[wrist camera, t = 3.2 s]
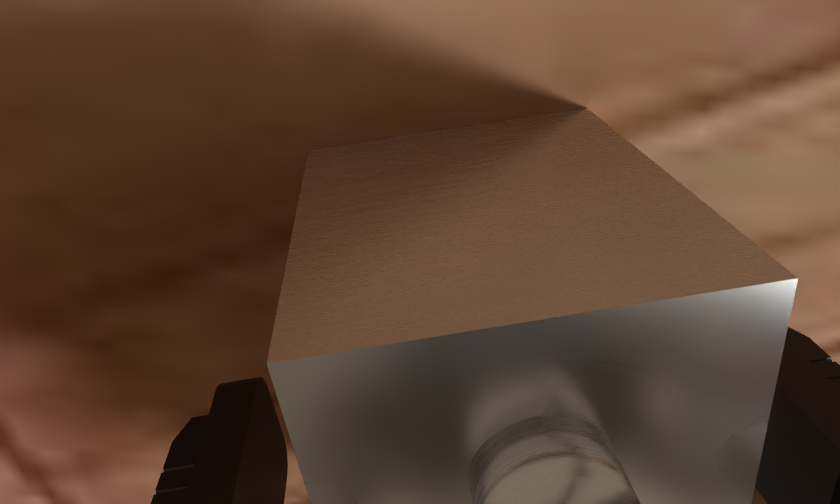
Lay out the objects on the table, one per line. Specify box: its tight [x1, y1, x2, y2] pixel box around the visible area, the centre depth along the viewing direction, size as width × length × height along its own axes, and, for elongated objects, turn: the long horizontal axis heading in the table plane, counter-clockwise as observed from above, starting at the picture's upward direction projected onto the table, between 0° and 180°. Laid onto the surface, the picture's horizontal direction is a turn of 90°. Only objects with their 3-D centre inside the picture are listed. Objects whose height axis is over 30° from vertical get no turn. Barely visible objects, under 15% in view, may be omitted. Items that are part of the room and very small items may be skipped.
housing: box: [267, 108, 798, 504], centre depth 10 cm, size 8×5×7 cm, turn 7°
